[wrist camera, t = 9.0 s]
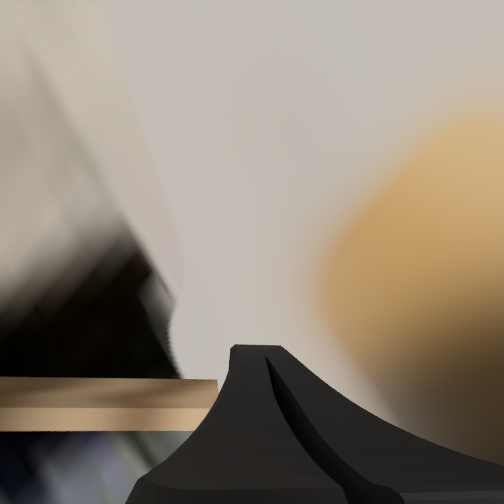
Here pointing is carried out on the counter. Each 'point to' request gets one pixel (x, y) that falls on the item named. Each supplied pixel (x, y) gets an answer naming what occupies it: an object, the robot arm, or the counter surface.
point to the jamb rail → (104, 404)
